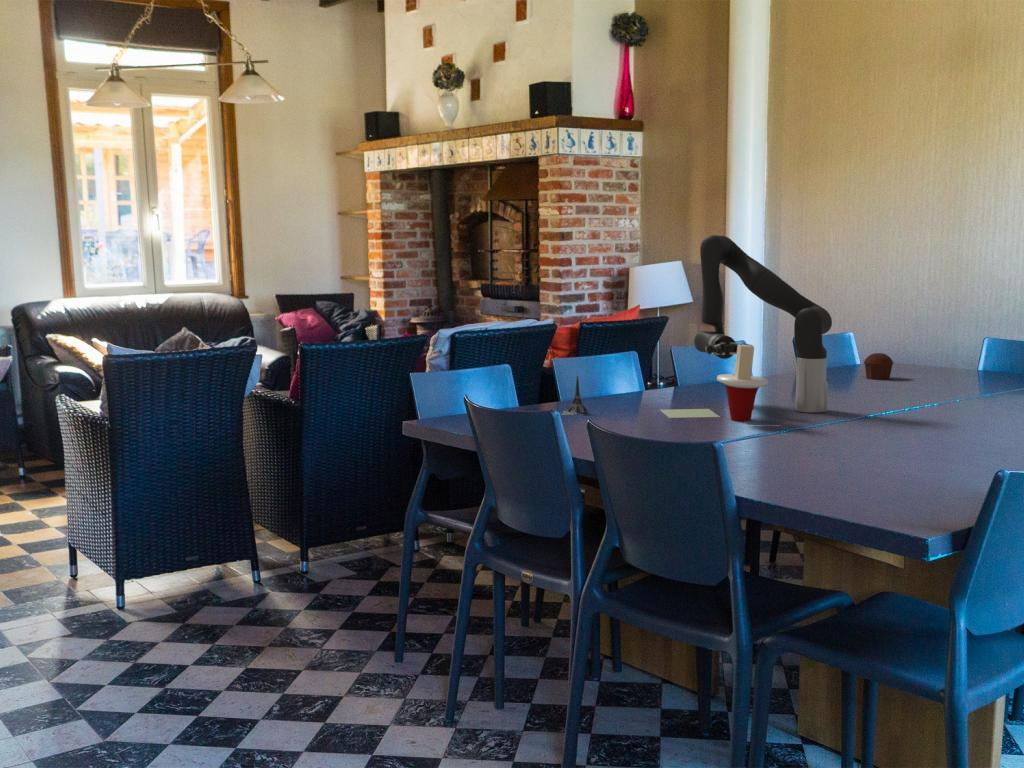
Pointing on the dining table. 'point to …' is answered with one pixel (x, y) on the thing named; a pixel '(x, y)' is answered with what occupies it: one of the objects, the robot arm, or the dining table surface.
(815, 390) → the robot arm
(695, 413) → the mat
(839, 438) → the dining table surface
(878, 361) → the muffin
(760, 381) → the lid
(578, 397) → the eiffel tower figurine
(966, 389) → the dining table surface
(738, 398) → the plastic cup
